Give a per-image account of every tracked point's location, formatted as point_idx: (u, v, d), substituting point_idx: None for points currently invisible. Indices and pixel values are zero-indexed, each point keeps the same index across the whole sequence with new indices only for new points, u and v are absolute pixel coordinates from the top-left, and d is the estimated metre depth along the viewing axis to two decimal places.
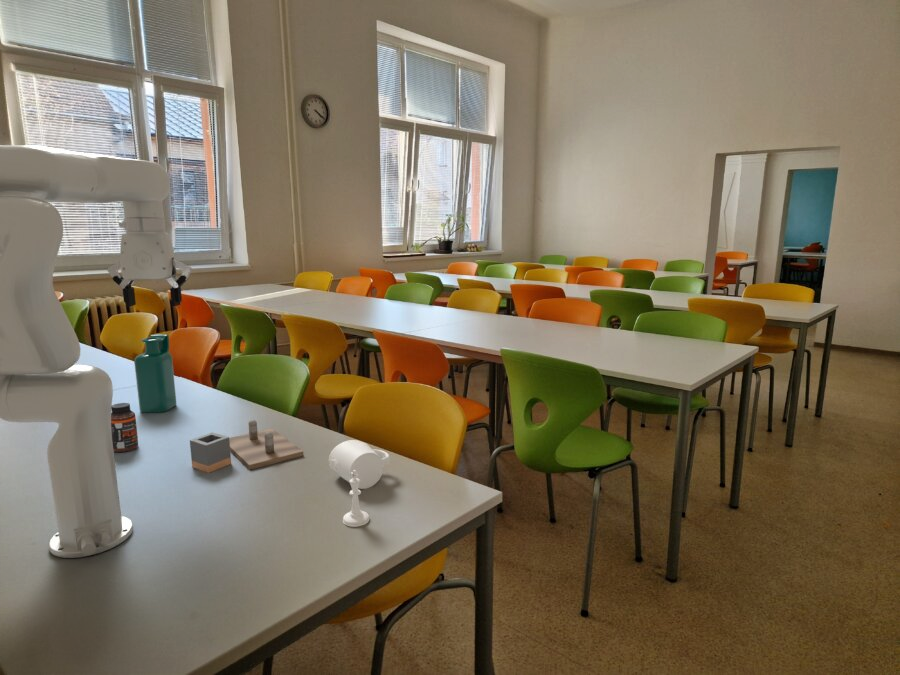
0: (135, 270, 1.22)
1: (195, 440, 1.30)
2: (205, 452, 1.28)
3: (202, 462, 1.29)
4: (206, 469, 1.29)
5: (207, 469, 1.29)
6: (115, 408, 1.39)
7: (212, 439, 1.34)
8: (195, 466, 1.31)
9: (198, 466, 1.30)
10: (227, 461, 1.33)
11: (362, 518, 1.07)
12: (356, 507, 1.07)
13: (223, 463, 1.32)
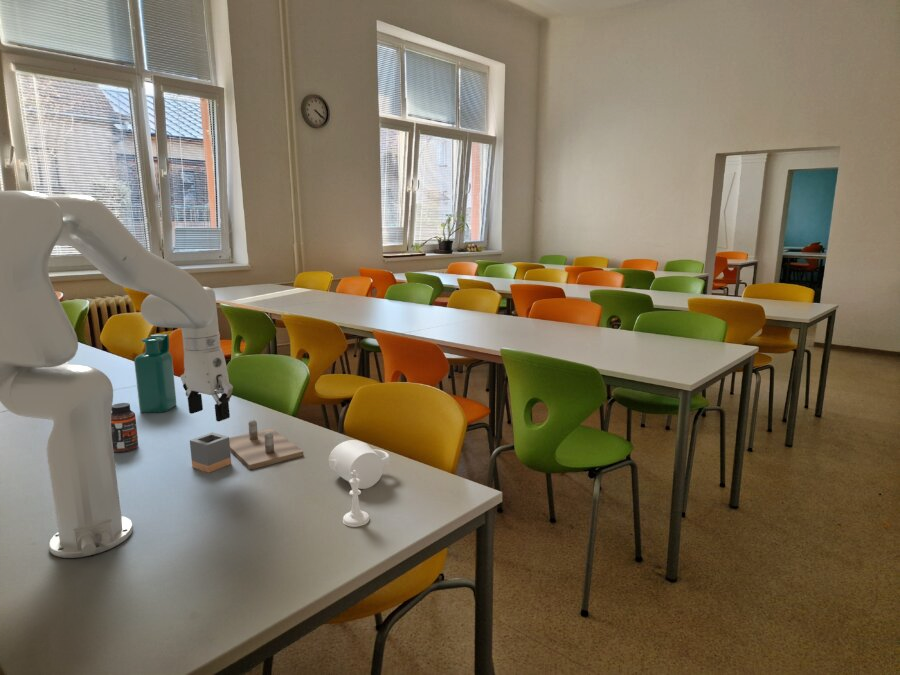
0: None
1: (195, 440, 1.30)
2: (205, 452, 1.28)
3: (202, 462, 1.29)
4: (206, 469, 1.29)
5: (207, 469, 1.29)
6: (115, 408, 1.39)
7: (212, 439, 1.34)
8: (195, 466, 1.31)
9: (198, 466, 1.30)
10: (227, 461, 1.33)
11: (362, 518, 1.07)
12: (356, 507, 1.07)
13: (223, 463, 1.32)
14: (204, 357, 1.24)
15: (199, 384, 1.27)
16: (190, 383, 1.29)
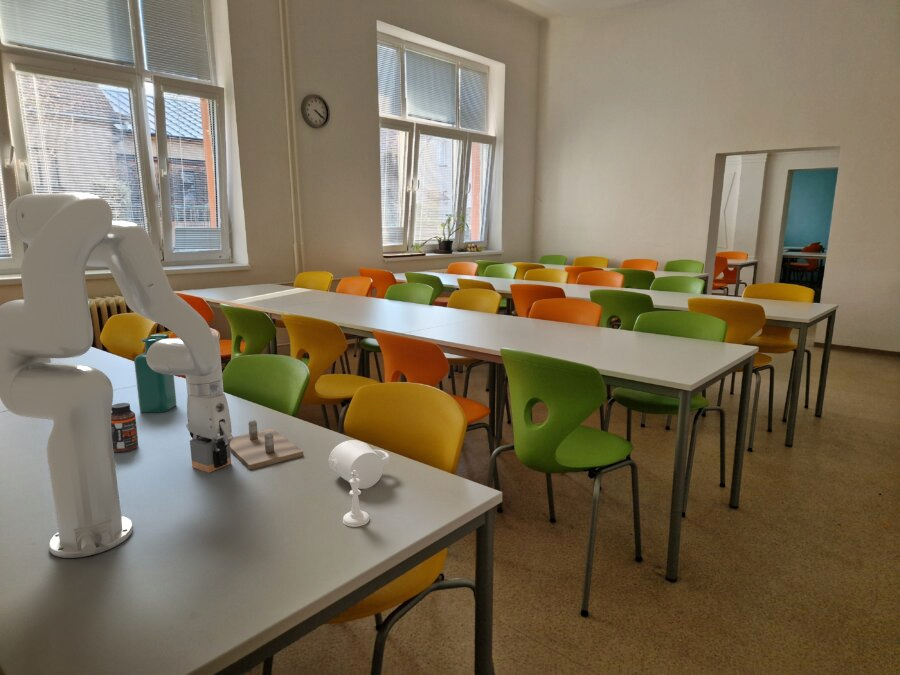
0: None
1: (195, 440, 1.30)
2: (205, 452, 1.28)
3: (202, 462, 1.29)
4: (206, 469, 1.29)
5: (207, 469, 1.29)
6: (115, 408, 1.39)
7: None
8: (195, 466, 1.31)
9: (198, 466, 1.30)
10: None
11: (362, 518, 1.07)
12: (356, 507, 1.07)
13: None
14: (207, 402, 1.26)
15: (202, 428, 1.28)
16: (193, 427, 1.30)
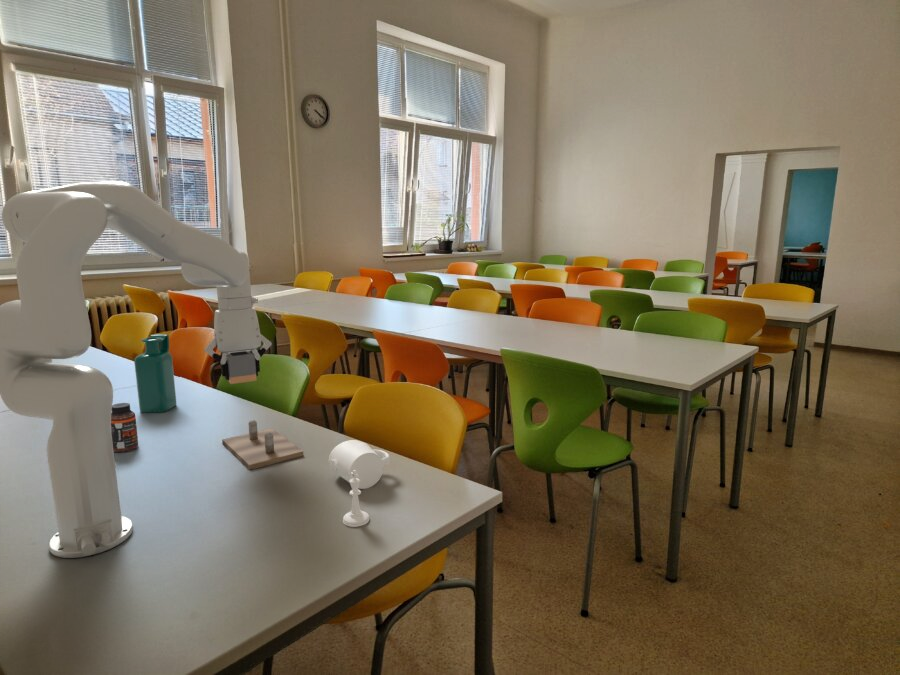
0: None
1: (233, 356, 1.36)
2: (253, 361, 1.38)
3: (248, 373, 1.38)
4: (253, 378, 1.39)
5: (255, 377, 1.39)
6: (115, 408, 1.39)
7: None
8: (236, 381, 1.37)
9: (241, 379, 1.37)
10: None
11: (362, 518, 1.07)
12: (356, 507, 1.07)
13: None
14: (252, 313, 1.37)
15: (244, 341, 1.37)
16: (229, 344, 1.35)
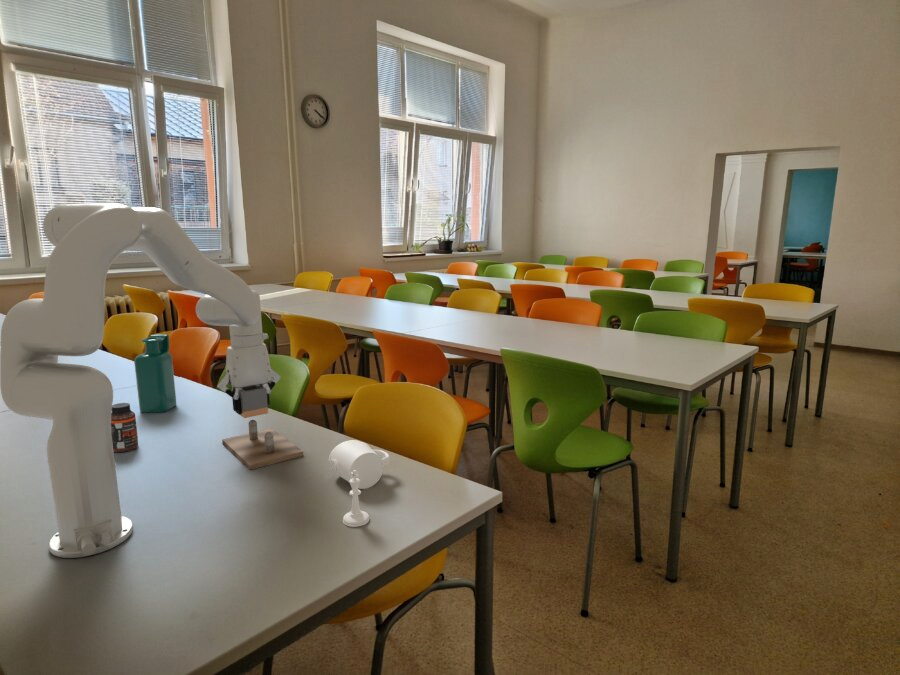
0: None
1: (246, 391, 1.41)
2: (265, 395, 1.43)
3: (260, 406, 1.43)
4: (265, 411, 1.44)
5: (266, 410, 1.44)
6: (115, 408, 1.39)
7: None
8: (249, 415, 1.41)
9: (253, 413, 1.42)
10: None
11: (362, 518, 1.07)
12: (356, 507, 1.07)
13: None
14: (264, 349, 1.42)
15: (256, 376, 1.42)
16: (242, 380, 1.40)
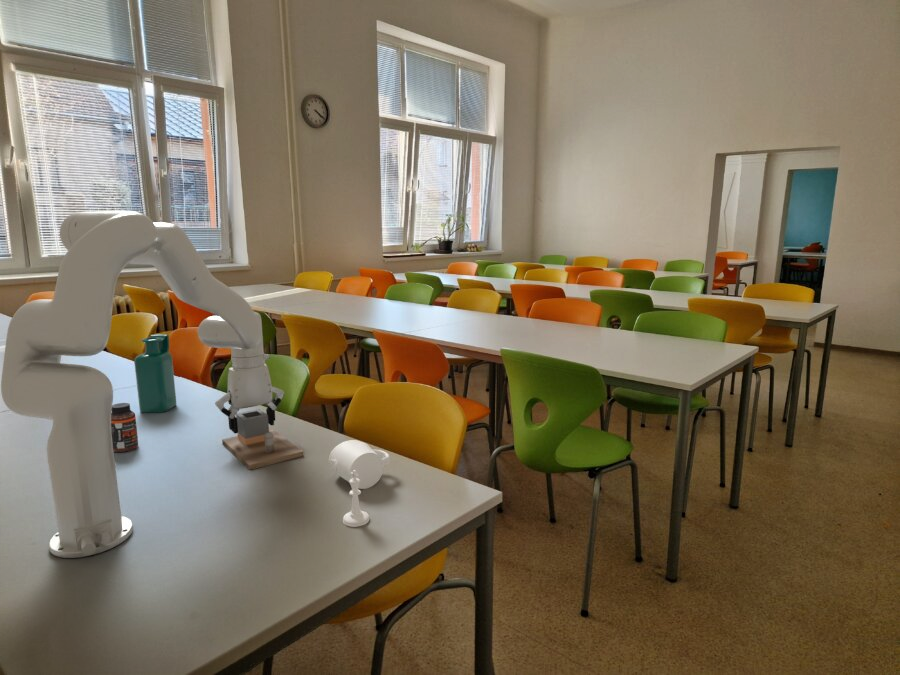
0: None
1: (248, 418, 1.42)
2: (266, 422, 1.44)
3: (262, 433, 1.44)
4: None
5: None
6: (115, 408, 1.39)
7: None
8: (250, 442, 1.42)
9: (255, 440, 1.43)
10: None
11: (362, 518, 1.07)
12: (356, 507, 1.07)
13: None
14: (265, 370, 1.43)
15: (257, 397, 1.43)
16: (244, 401, 1.41)
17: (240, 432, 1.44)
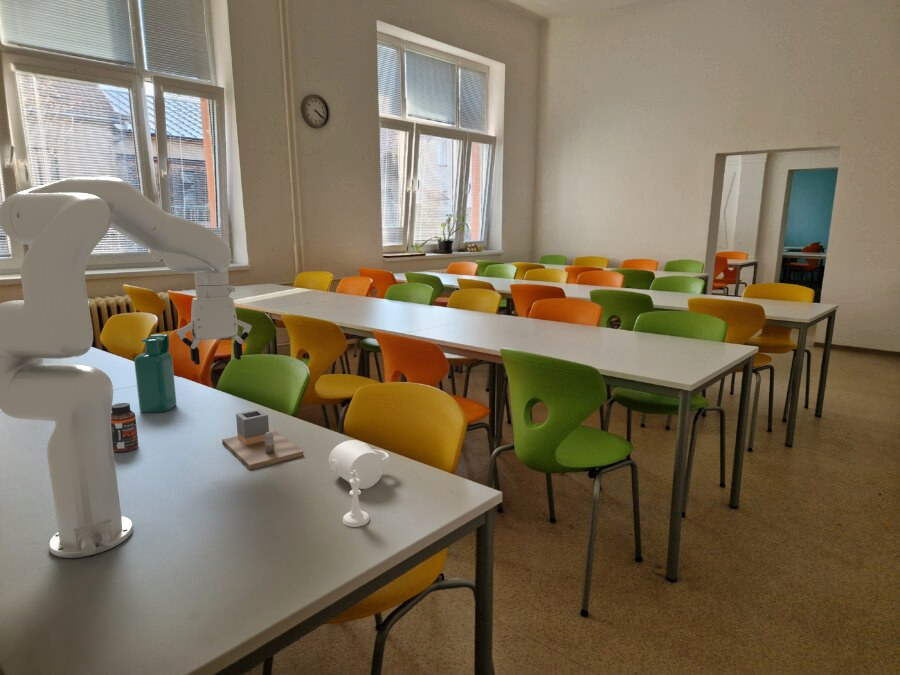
0: None
1: (248, 418, 1.42)
2: (266, 422, 1.44)
3: (262, 433, 1.44)
4: None
5: None
6: (115, 408, 1.39)
7: None
8: (250, 442, 1.42)
9: (255, 440, 1.43)
10: None
11: (362, 518, 1.07)
12: (356, 507, 1.07)
13: None
14: (230, 301, 1.39)
15: (222, 329, 1.39)
16: (207, 331, 1.37)
17: (240, 432, 1.44)
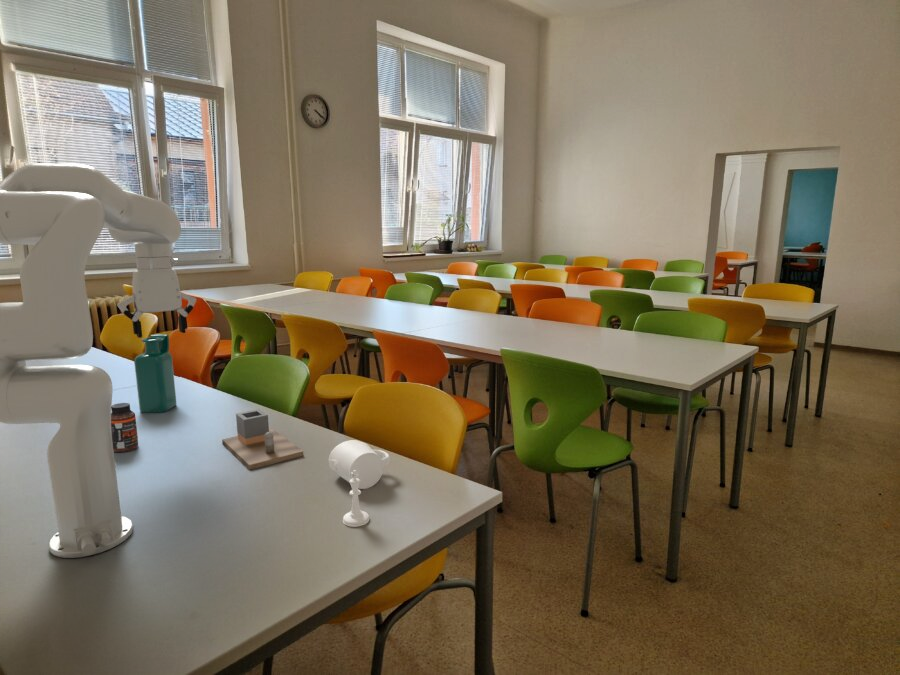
0: None
1: (248, 418, 1.42)
2: (266, 422, 1.44)
3: (262, 433, 1.44)
4: None
5: None
6: (115, 408, 1.39)
7: None
8: (250, 442, 1.42)
9: (255, 440, 1.43)
10: None
11: (362, 518, 1.07)
12: (356, 507, 1.07)
13: None
14: (172, 274, 1.38)
15: (164, 301, 1.38)
16: (148, 304, 1.36)
17: (240, 432, 1.44)
